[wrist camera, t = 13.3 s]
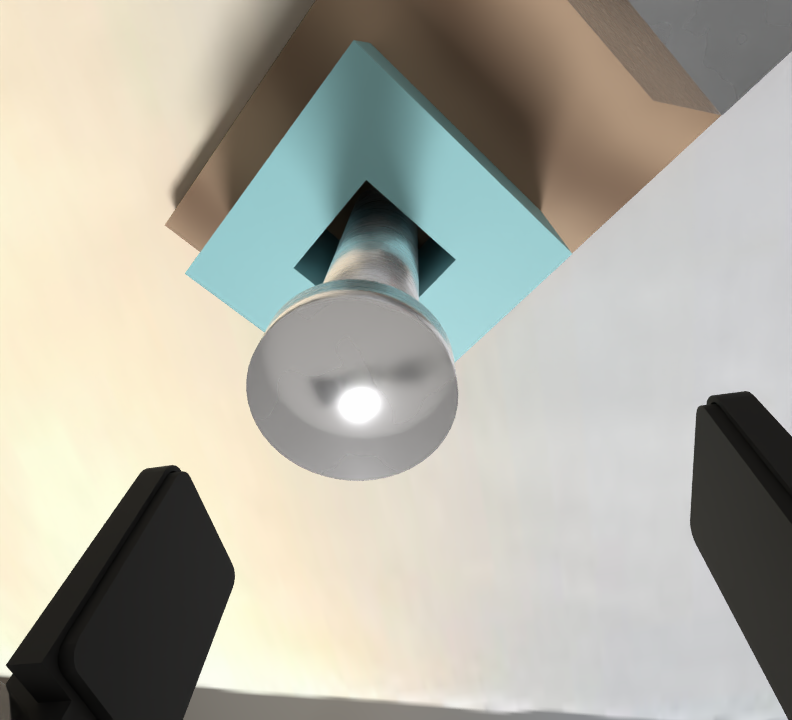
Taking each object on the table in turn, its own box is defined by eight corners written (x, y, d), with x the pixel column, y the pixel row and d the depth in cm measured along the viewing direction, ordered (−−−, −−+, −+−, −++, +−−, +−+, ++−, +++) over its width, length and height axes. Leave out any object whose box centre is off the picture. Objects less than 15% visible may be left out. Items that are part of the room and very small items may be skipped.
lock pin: (378, 143, 24) (334, 254, 11) (455, 215, 25) (502, 392, 12) (313, 223, 26) (205, 404, 12) (389, 286, 27) (365, 510, 14)
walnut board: (714, -576, 16) (740, -634, 14) (960, -128, 20) (997, -141, 19) (177, 216, 27) (164, 225, 26) (406, 392, 32) (405, 407, 30)
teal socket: (370, 42, 22) (353, 40, 17) (541, 211, 25) (572, 253, 20) (232, 228, 26) (184, 273, 21) (394, 356, 29) (388, 423, 24)
